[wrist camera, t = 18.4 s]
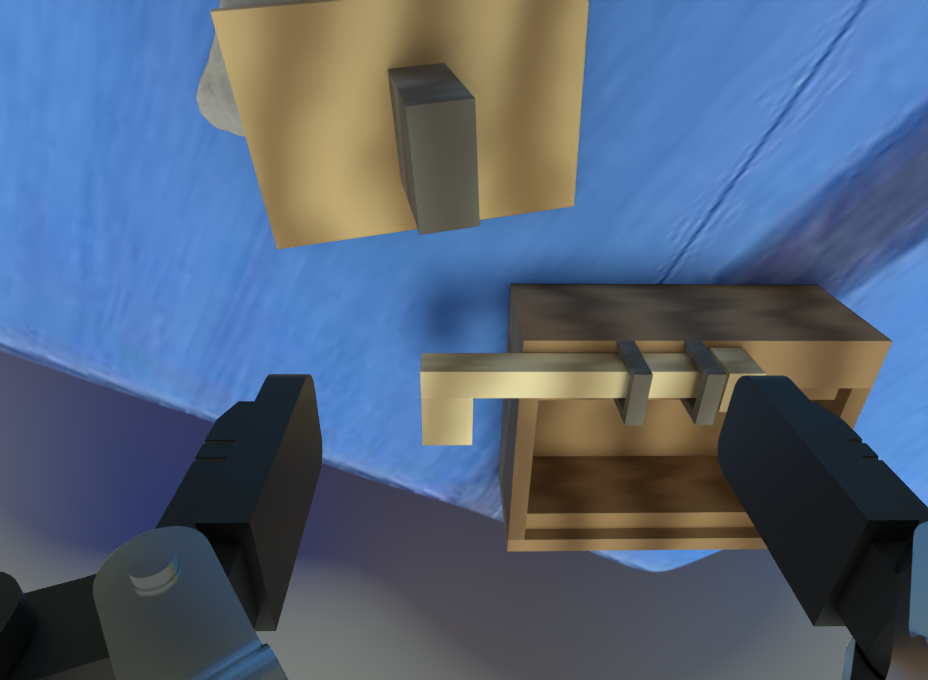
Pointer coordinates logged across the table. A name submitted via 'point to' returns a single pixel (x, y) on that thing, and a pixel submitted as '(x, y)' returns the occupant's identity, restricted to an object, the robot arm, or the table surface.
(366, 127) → the lid
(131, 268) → the table surface
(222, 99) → the stone block
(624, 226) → the table surface
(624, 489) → the wooden box
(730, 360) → the yellow latch bar
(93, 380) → the table surface
